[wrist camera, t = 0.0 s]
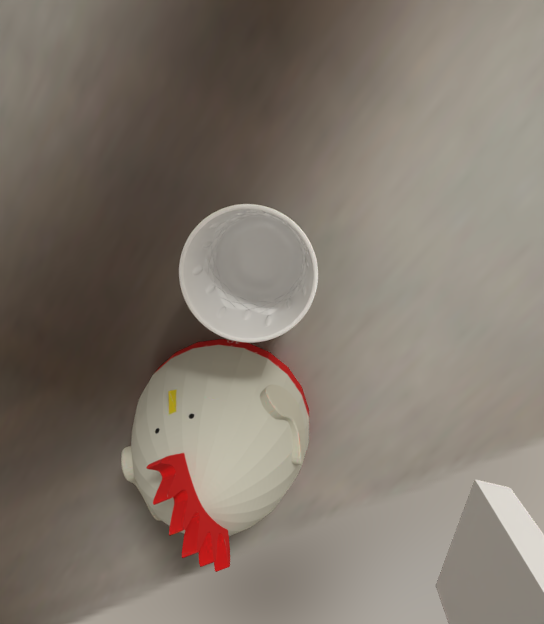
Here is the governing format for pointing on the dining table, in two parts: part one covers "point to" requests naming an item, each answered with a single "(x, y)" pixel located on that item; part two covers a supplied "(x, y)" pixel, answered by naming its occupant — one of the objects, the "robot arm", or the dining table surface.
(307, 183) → the dining table surface
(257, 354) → the white chicken figurine
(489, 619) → the robot arm
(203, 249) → the white cup
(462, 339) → the dining table surface
